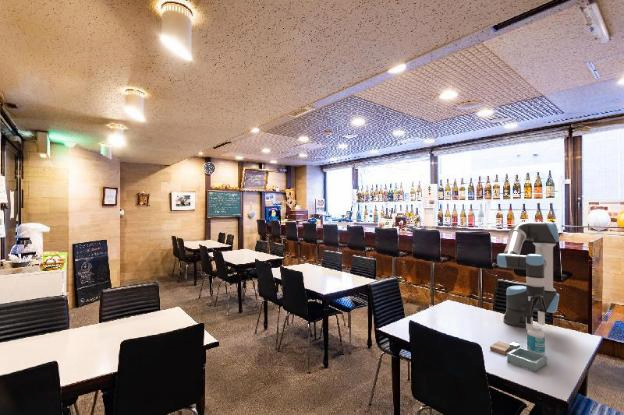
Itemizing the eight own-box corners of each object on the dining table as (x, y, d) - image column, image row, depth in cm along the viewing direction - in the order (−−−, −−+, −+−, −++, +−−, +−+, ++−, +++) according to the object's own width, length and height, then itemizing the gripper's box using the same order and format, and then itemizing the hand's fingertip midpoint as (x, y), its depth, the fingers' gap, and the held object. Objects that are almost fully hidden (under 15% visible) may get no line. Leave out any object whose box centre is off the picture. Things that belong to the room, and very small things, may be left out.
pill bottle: (537, 357, 154) (536, 330, 154) (523, 350, 161) (523, 324, 161) (548, 355, 156) (548, 328, 156) (534, 348, 163) (534, 323, 163)
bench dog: (513, 351, 160) (513, 342, 160) (519, 354, 157) (519, 344, 157) (509, 354, 158) (509, 344, 158) (516, 356, 155) (516, 346, 155)
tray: (518, 354, 157) (518, 346, 157) (547, 364, 147) (547, 356, 147) (507, 361, 150) (507, 353, 150) (535, 372, 140) (535, 363, 140)
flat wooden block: (498, 345, 168) (498, 340, 168) (512, 350, 163) (512, 345, 163) (490, 351, 162) (490, 346, 162) (505, 355, 157) (504, 350, 157)
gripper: (537, 280, 168) (537, 320, 168) (515, 287, 155) (515, 329, 154) (554, 283, 162) (554, 324, 162) (532, 290, 148) (533, 335, 148)
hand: (535, 327), depth 158 cm, fingers open, 13 cm apart
